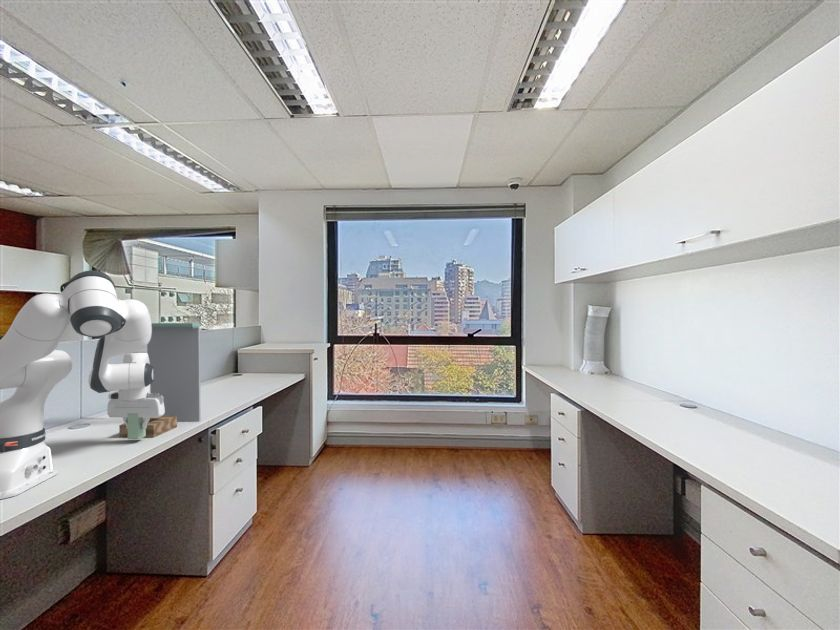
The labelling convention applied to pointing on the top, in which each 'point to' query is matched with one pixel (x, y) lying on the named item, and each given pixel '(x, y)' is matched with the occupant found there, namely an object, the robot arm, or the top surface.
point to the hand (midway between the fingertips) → (136, 428)
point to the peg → (135, 427)
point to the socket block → (153, 426)
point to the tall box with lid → (176, 368)
